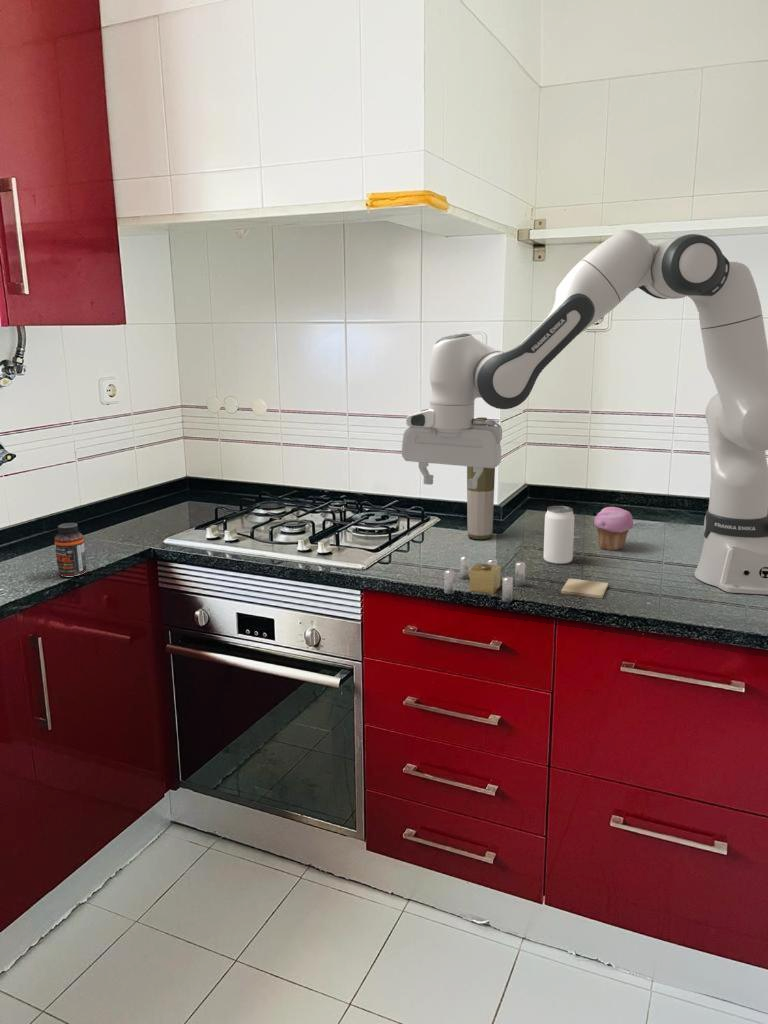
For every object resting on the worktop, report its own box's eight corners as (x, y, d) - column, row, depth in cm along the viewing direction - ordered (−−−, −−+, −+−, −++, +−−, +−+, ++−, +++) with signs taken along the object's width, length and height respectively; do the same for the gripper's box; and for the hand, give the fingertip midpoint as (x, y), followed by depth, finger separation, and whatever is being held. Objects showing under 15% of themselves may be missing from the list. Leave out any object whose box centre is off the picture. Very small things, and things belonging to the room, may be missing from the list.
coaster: (608, 585, 161) (608, 582, 161) (602, 598, 154) (602, 595, 154) (568, 581, 164) (568, 578, 164) (561, 593, 157) (561, 590, 157)
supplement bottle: (53, 578, 171) (47, 528, 168) (65, 570, 176) (59, 521, 174) (80, 578, 170) (74, 528, 168) (91, 570, 176) (86, 521, 173)
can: (537, 558, 180) (539, 507, 177) (562, 554, 182) (564, 504, 179) (553, 566, 174) (555, 513, 171) (578, 562, 176) (580, 510, 173)
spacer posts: (525, 583, 163) (526, 562, 162) (510, 602, 152) (511, 580, 151) (461, 575, 169) (461, 555, 168) (442, 593, 158) (442, 572, 157)
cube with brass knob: (500, 586, 162) (500, 564, 161) (493, 594, 157) (493, 571, 156) (476, 583, 164) (477, 561, 163) (469, 591, 159) (469, 568, 158)
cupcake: (603, 541, 192) (605, 501, 190) (637, 547, 187) (640, 506, 185) (586, 549, 186) (588, 508, 183) (621, 555, 180) (624, 513, 178)
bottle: (469, 532, 202) (470, 415, 194) (496, 534, 199) (498, 416, 192) (462, 540, 195) (464, 419, 188) (490, 542, 193) (493, 420, 186)
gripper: (507, 418, 154) (504, 487, 158) (411, 413, 163) (410, 478, 166) (497, 422, 149) (495, 494, 152) (398, 416, 157) (398, 484, 160)
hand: (450, 486), depth 159 cm, fingers open, 8 cm apart
